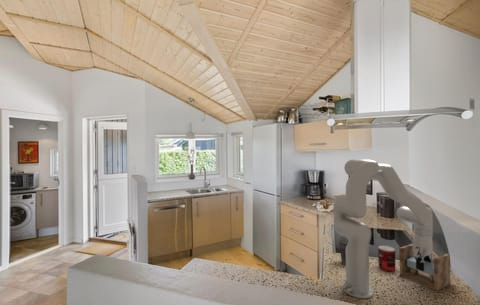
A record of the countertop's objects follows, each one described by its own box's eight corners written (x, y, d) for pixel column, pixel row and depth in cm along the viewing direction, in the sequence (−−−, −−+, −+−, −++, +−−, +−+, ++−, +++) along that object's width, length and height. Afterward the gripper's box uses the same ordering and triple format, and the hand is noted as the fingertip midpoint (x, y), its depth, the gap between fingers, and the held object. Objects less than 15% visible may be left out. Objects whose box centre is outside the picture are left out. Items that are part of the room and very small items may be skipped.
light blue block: (406, 266, 125) (406, 259, 125) (413, 263, 127) (413, 257, 127) (434, 276, 114) (434, 268, 114) (440, 273, 117) (440, 266, 117)
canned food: (379, 263, 138) (379, 244, 138) (396, 267, 133) (396, 247, 133) (377, 268, 132) (376, 248, 132) (394, 273, 127) (394, 251, 127)
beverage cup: (338, 259, 144) (338, 225, 144) (351, 261, 142) (351, 226, 142) (339, 265, 137) (339, 229, 137) (353, 266, 135) (353, 230, 135)
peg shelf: (437, 290, 110) (437, 259, 111) (399, 275, 125) (399, 247, 125) (450, 284, 116) (449, 254, 116) (412, 269, 131) (412, 243, 131)
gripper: (423, 227, 128) (424, 261, 128) (405, 232, 120) (405, 269, 120) (440, 231, 122) (441, 267, 121) (422, 236, 113) (423, 275, 113)
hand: (423, 268), depth 121 cm, fingers closed on light blue block, 6 cm apart
